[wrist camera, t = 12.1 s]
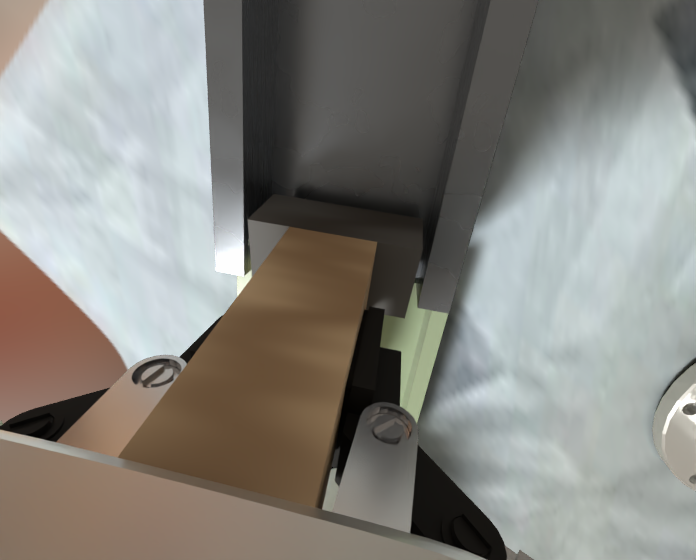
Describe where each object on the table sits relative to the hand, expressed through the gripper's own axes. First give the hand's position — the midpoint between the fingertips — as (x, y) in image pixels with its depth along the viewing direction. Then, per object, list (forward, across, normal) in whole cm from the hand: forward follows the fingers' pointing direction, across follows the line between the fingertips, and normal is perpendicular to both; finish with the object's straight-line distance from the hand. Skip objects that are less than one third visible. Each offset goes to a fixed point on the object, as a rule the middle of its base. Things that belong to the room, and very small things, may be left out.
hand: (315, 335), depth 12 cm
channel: (+8, 0, -8) cm, 11 cm away
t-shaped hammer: (+4, 0, -2) cm, 5 cm away
